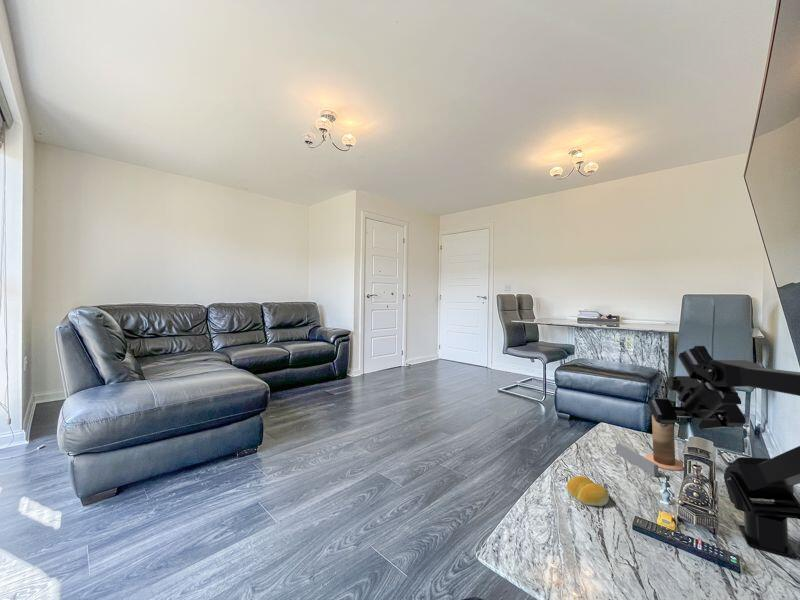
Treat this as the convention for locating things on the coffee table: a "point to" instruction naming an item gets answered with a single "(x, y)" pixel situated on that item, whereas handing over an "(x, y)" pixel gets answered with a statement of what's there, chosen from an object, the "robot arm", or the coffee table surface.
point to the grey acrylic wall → (637, 460)
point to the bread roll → (587, 491)
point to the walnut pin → (663, 443)
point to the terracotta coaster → (675, 467)
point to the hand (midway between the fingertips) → (680, 426)
